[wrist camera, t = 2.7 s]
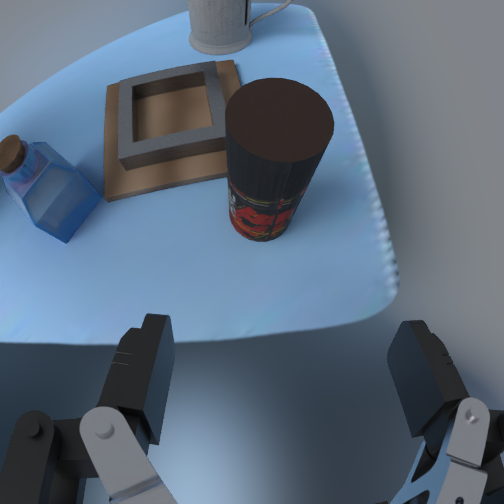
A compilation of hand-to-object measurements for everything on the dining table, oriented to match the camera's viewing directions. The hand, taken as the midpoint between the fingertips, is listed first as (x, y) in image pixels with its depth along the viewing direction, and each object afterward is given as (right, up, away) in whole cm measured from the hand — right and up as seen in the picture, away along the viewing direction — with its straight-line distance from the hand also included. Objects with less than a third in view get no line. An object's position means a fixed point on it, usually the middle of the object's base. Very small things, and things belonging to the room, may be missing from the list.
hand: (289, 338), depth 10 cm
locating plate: (-10, +17, +22) cm, 30 cm away
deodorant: (0, +7, +20) cm, 21 cm away
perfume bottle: (-21, +8, +20) cm, 30 cm away
